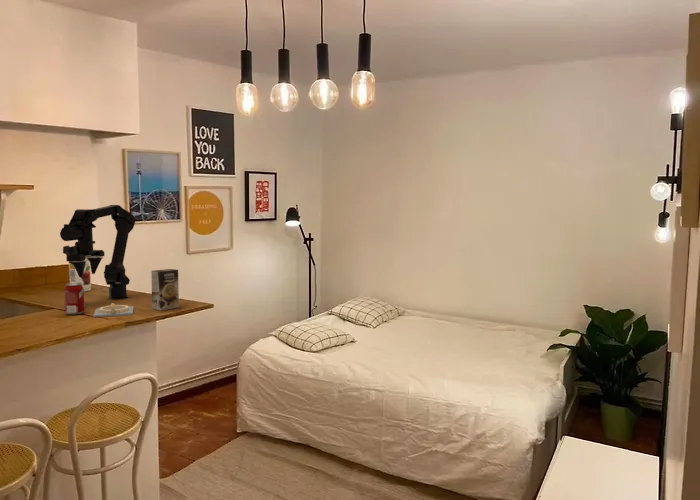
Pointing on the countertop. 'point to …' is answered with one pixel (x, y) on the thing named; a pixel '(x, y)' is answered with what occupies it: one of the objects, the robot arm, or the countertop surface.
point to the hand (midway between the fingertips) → (87, 275)
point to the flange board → (113, 311)
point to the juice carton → (85, 278)
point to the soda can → (74, 298)
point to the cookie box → (165, 289)
